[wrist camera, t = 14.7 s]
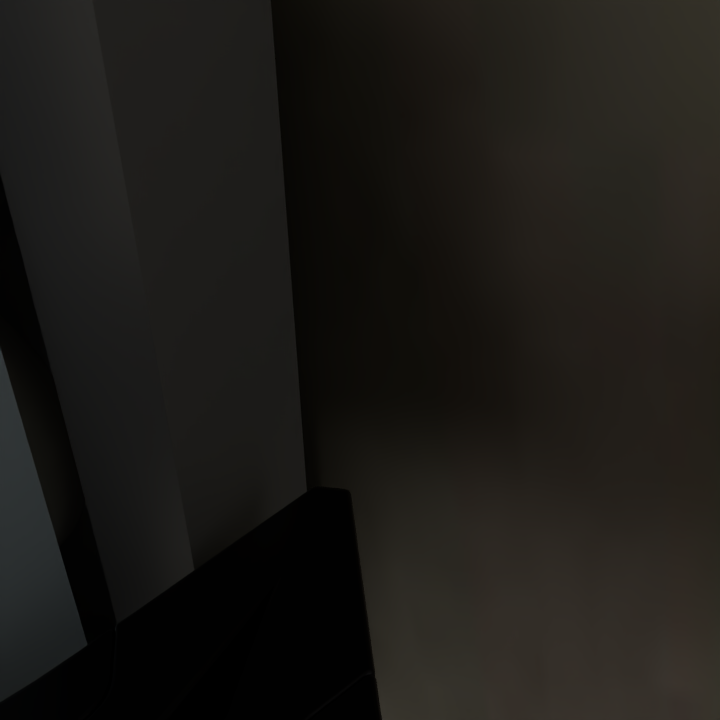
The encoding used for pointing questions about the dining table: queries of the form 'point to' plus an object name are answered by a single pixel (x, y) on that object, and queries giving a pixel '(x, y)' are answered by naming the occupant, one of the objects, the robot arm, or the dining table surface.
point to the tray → (152, 276)
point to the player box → (29, 564)
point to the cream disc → (44, 431)
